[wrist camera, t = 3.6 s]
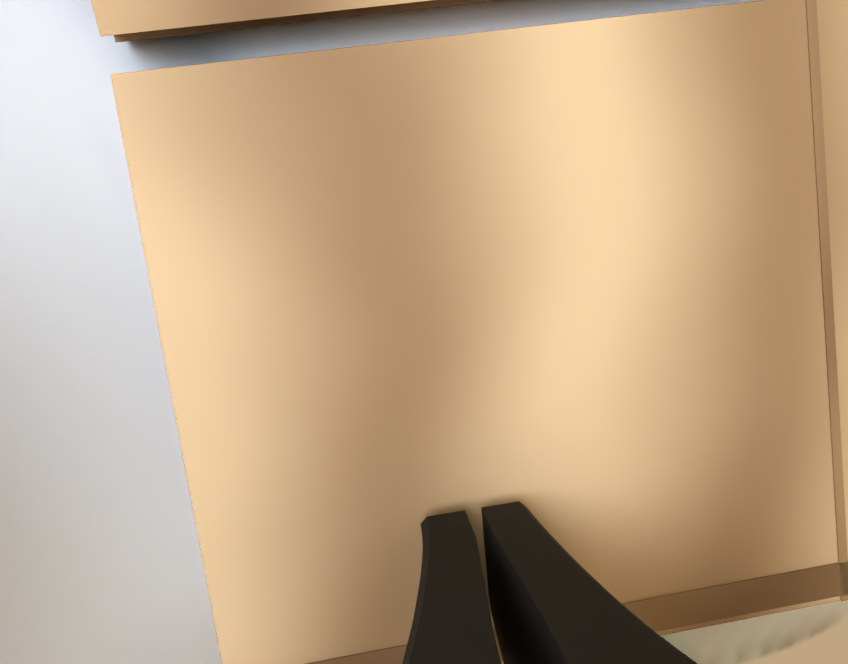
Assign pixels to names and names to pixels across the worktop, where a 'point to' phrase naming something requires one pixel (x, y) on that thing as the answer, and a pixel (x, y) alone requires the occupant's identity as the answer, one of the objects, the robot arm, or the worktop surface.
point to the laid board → (233, 14)
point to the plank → (507, 313)
